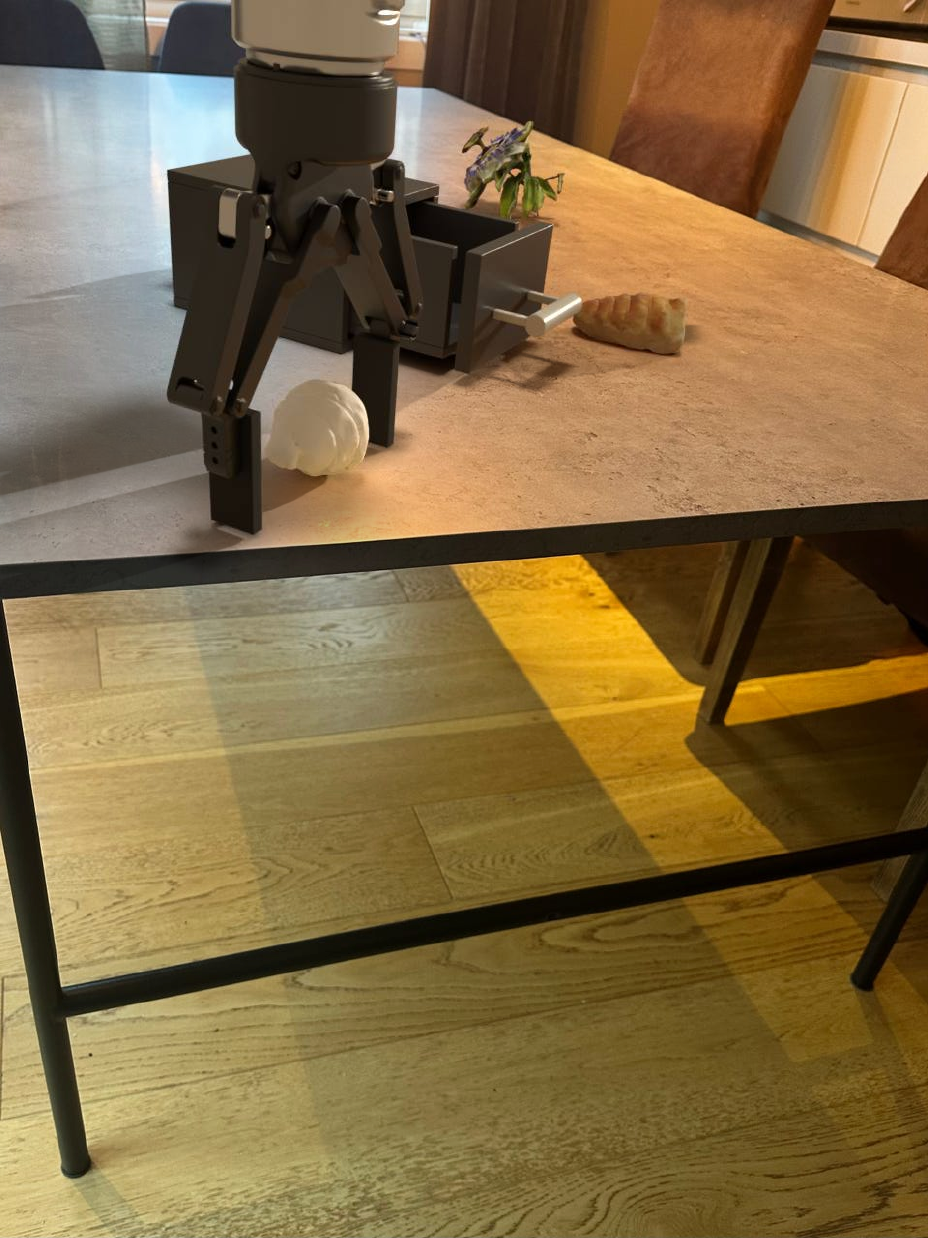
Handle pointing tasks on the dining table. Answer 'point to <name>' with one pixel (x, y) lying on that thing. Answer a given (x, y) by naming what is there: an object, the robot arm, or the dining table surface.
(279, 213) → the robot arm
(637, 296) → the pastry
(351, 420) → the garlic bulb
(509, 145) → the passion flower
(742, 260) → the dining table surface
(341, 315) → the cabinet
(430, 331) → the drawer
